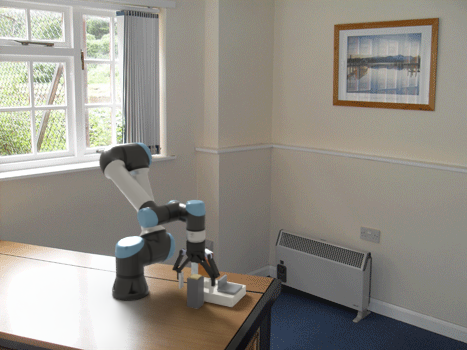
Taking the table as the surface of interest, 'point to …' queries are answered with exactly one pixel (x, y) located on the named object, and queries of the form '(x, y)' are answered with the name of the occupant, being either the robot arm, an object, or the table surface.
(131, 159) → the robot arm
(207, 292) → the socket
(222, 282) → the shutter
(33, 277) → the table surface
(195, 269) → the small box
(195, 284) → the plug
